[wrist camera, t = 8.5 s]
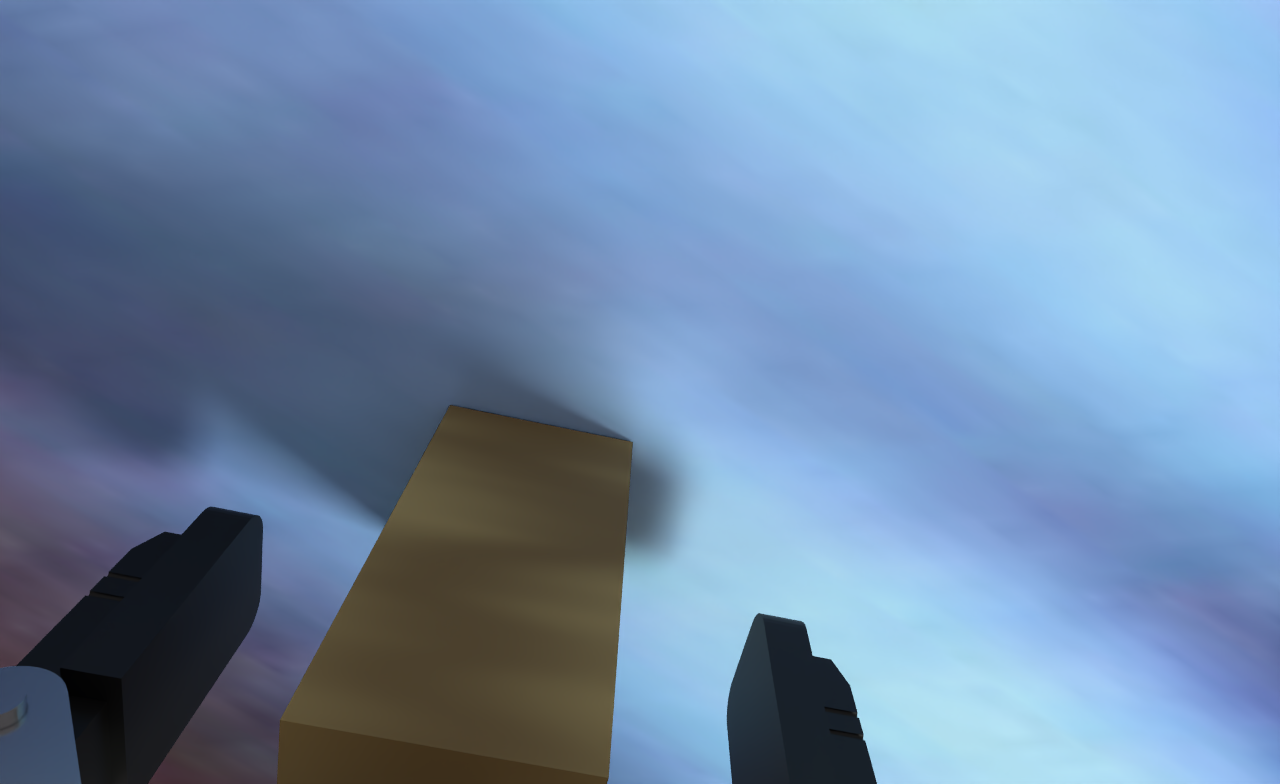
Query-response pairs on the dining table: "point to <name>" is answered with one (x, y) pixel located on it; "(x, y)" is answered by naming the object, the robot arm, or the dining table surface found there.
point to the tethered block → (477, 620)
